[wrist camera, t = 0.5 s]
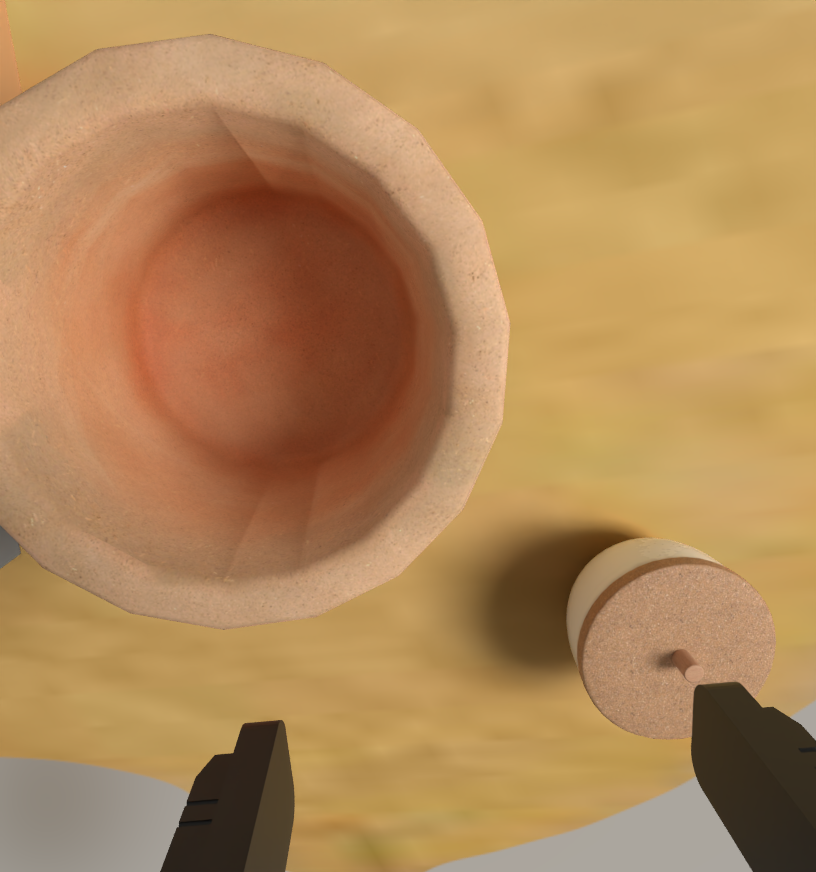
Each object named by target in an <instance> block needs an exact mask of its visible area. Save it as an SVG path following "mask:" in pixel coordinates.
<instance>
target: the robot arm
mask: <svg viewBox="0 0 816 872" xmlns="http://www.w3.org/2000/svg"><path fill="white" fill-rule="evenodd" d="M691 755H692V763H693V767H694V771H695V774H696V777H697V780H698V782H699V784H700V786H701V788H702V790H703V791H704V793H705V795H706V796H707V798H708V799H709V801H710V803H711V804H712V806H713V808H714V809H715V811H716V812H717V814H718V816H719V817H720V819H721V820H722V822H723V824H724V825H725V827H726V829H727V830H728V832H729V834H730V835H731V837H732V838H733V840H734V842H735V843H736V845H737V847H738V848H739V850H740V851H741V853H742V855H743V856H744V858H745V860H746V861H747V863H748V864H749V866H750V868H751V869H752V871H753V872H816V740H815V739H814V738H813V737H812V736H811V735H810V734H809V733H808V732H807V731H806V730H805V728H804V727H802V725H801V724H799V723H798V722H796V721H794V720H793V719H791V718H790V717H788V716H787V715H785V714H783V713H782V712H780V711H779V710H777V709H775V708H774V707H766V708H762V707H761V706H760V705H759V703H758V702H757V701H756V700H755V699H754V698H753V696H752V695H751V694H750V693H749V692H748V691H747V690H746V688H745V687H744V686H743V685H742V684H740V683H739V682H723V683H712V684H700V685H697V686H696V687H695V690H694V696H693V719H692V743H691ZM293 820H294V785H293V777H292V770H291V763H290V757H289V750H288V743H287V736H286V729H285V724H284V722H283V720H277V721H266V722H254V723H245V724H243V726H242V728H241V731H240V734H239V737H238V740H237V743H236V746H235V750H234V753H231V754H220V755H215V756H214V757H213V758H212V759H211V760H210V761H209V763H208V764H207V765H206V766H205V767H204V768H203V769H202V771H201V772H200V773H199V774H198V775H197V776H196V778H195V781H194V784H193V786H192V789H191V792H190V794H189V797H188V800H187V806H186V807H185V808H184V810H183V813H182V816H181V818H180V821H179V827H177V829H176V832H175V834H174V837H173V839H172V842H171V845H170V847H169V850H168V853H167V855H166V858H165V861H164V863H163V866H162V869H161V871H160V872H285V869H286V863H287V857H288V851H289V845H290V839H291V833H292V827H293Z"/></svg>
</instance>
